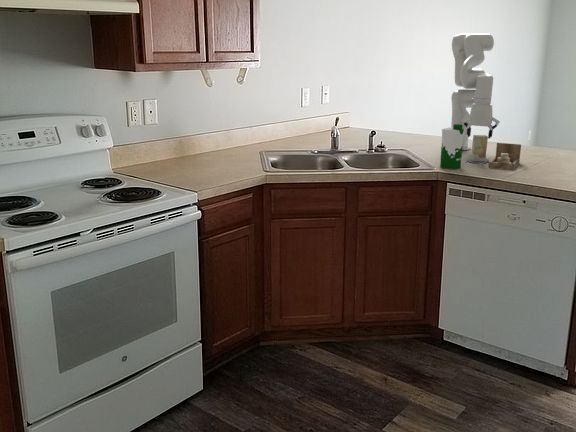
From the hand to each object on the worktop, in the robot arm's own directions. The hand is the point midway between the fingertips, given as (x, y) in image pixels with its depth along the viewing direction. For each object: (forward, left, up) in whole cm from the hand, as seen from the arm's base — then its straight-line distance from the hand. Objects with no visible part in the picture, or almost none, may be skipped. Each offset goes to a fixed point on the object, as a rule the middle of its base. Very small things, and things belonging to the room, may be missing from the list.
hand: (479, 137), depth 296 cm
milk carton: (-8, -21, -12) cm, 25 cm away
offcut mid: (+14, -8, -10) cm, 19 cm away
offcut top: (+14, -8, -8) cm, 18 cm away
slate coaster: (0, -1, -12) cm, 12 cm away
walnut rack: (+13, -4, -12) cm, 18 cm away
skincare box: (+1, -1, -11) cm, 11 cm away
